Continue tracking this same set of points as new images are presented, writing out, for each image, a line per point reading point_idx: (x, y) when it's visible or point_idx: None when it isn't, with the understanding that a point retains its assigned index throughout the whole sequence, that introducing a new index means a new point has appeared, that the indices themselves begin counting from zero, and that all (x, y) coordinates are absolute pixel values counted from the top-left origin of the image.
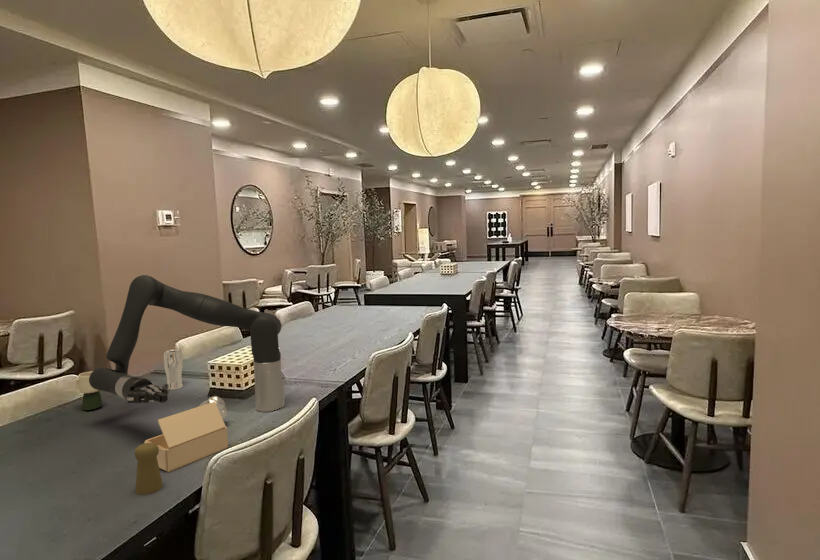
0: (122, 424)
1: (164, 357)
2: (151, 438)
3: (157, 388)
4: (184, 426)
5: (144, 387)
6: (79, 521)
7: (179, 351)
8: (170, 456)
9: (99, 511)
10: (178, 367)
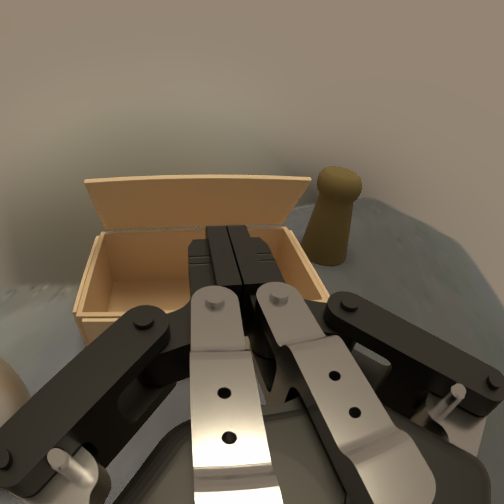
0: None
1: None
2: None
3: (198, 351)
4: (227, 202)
5: (368, 459)
6: (409, 243)
7: None
8: (275, 244)
9: (391, 246)
10: None
